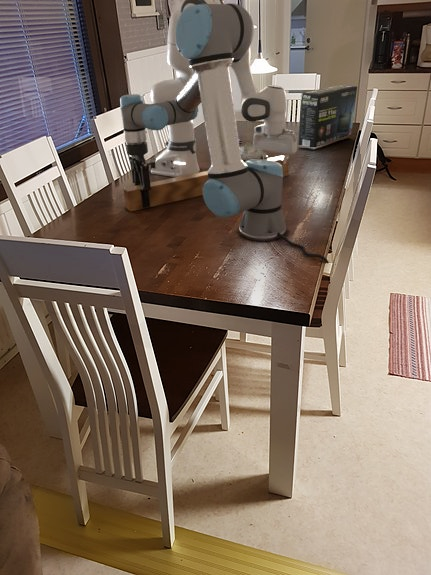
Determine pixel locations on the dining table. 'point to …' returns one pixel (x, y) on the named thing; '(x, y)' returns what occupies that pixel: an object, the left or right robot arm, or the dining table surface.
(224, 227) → the dining table surface
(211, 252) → the dining table surface
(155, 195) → the bar
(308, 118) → the router box
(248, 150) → the fossil
